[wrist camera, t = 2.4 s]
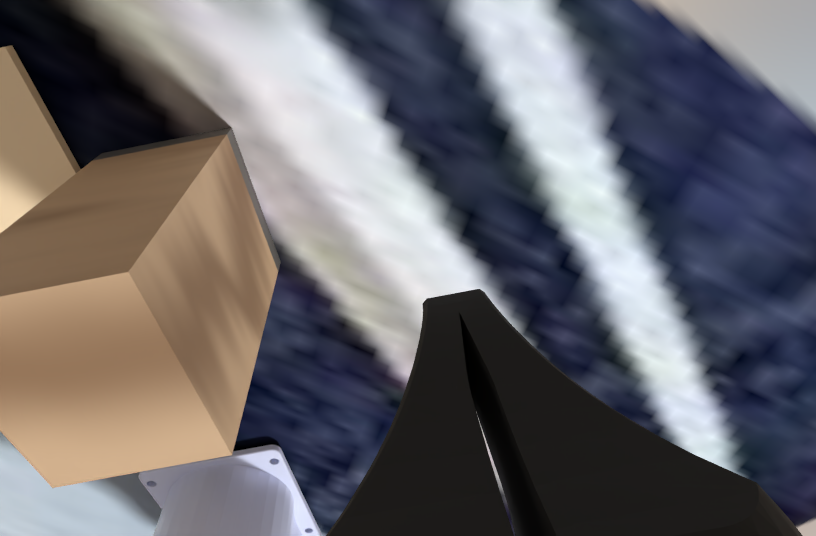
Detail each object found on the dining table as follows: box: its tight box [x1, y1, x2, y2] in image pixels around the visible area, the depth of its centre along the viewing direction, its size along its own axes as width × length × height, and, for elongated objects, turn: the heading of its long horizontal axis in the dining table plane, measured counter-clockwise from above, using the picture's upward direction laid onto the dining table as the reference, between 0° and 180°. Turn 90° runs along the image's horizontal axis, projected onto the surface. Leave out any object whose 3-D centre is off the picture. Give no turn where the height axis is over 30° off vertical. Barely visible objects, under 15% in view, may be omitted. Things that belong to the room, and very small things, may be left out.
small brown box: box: [0, 128, 280, 488], centre depth 16 cm, size 6×5×10 cm
